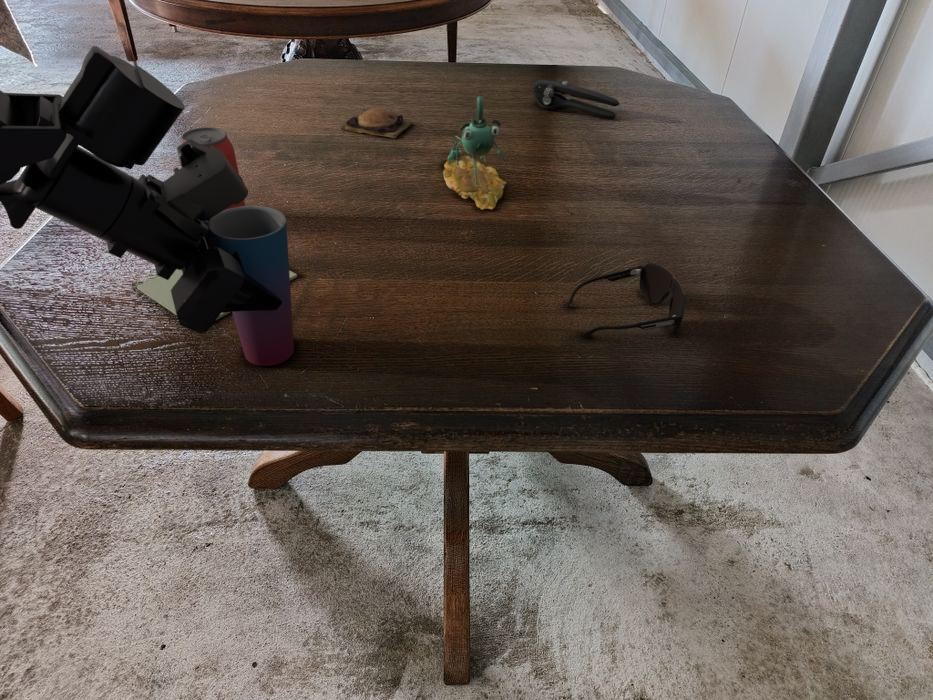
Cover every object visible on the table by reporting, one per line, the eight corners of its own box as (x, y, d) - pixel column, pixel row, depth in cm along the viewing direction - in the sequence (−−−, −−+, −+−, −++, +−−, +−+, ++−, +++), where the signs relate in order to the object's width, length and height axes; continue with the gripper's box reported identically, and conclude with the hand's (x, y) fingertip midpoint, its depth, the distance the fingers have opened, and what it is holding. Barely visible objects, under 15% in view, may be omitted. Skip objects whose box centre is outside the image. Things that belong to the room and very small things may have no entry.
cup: (293, 326, 70) (276, 201, 61) (309, 362, 65) (294, 232, 56) (230, 340, 67) (202, 211, 58) (242, 378, 62) (214, 244, 53)
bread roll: (413, 125, 118) (413, 105, 116) (394, 140, 112) (393, 120, 109) (363, 115, 120) (362, 96, 118) (341, 130, 114) (339, 109, 112)
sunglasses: (691, 339, 71) (698, 303, 67) (591, 360, 69) (593, 325, 66) (651, 286, 79) (656, 253, 75) (560, 305, 77) (561, 271, 74)
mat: (197, 330, 68) (196, 327, 68) (137, 288, 74) (136, 286, 74) (297, 277, 77) (297, 274, 77) (236, 243, 83) (236, 241, 82)
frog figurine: (488, 159, 107) (498, 72, 96) (517, 220, 95) (532, 128, 84) (433, 162, 105) (437, 73, 94) (455, 224, 93) (463, 130, 82)
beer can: (202, 235, 84) (180, 148, 76) (194, 213, 88) (172, 129, 80) (252, 225, 86) (235, 140, 79) (242, 205, 91) (225, 122, 83)
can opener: (526, 109, 127) (529, 80, 123) (536, 99, 132) (539, 71, 128) (612, 125, 122) (618, 95, 118) (619, 114, 127) (625, 85, 123)
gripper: (186, 174, 43) (353, 275, 54) (156, 90, 56) (296, 186, 67) (98, 294, 45) (275, 368, 56) (88, 188, 58) (235, 265, 69)
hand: (271, 288), depth 62 cm, fingers closed on cup, 6 cm apart
